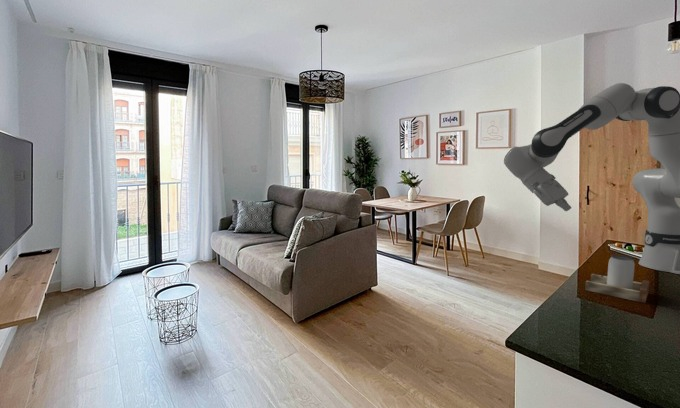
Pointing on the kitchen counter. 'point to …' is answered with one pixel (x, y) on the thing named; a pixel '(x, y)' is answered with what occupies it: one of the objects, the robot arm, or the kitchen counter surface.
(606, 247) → the kitchen counter surface
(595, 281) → the wooden rack
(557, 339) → the kitchen counter surface
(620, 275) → the can
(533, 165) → the robot arm
